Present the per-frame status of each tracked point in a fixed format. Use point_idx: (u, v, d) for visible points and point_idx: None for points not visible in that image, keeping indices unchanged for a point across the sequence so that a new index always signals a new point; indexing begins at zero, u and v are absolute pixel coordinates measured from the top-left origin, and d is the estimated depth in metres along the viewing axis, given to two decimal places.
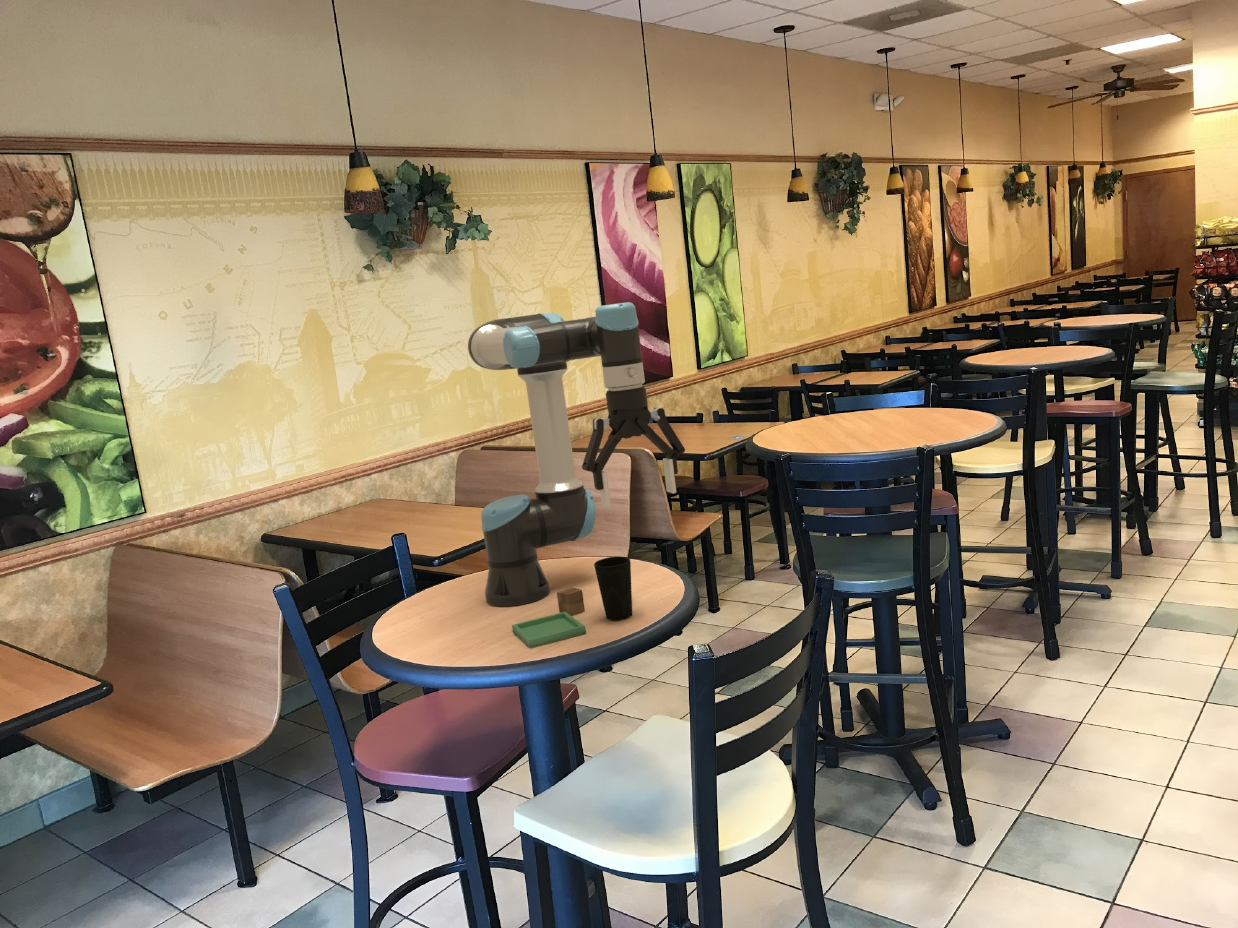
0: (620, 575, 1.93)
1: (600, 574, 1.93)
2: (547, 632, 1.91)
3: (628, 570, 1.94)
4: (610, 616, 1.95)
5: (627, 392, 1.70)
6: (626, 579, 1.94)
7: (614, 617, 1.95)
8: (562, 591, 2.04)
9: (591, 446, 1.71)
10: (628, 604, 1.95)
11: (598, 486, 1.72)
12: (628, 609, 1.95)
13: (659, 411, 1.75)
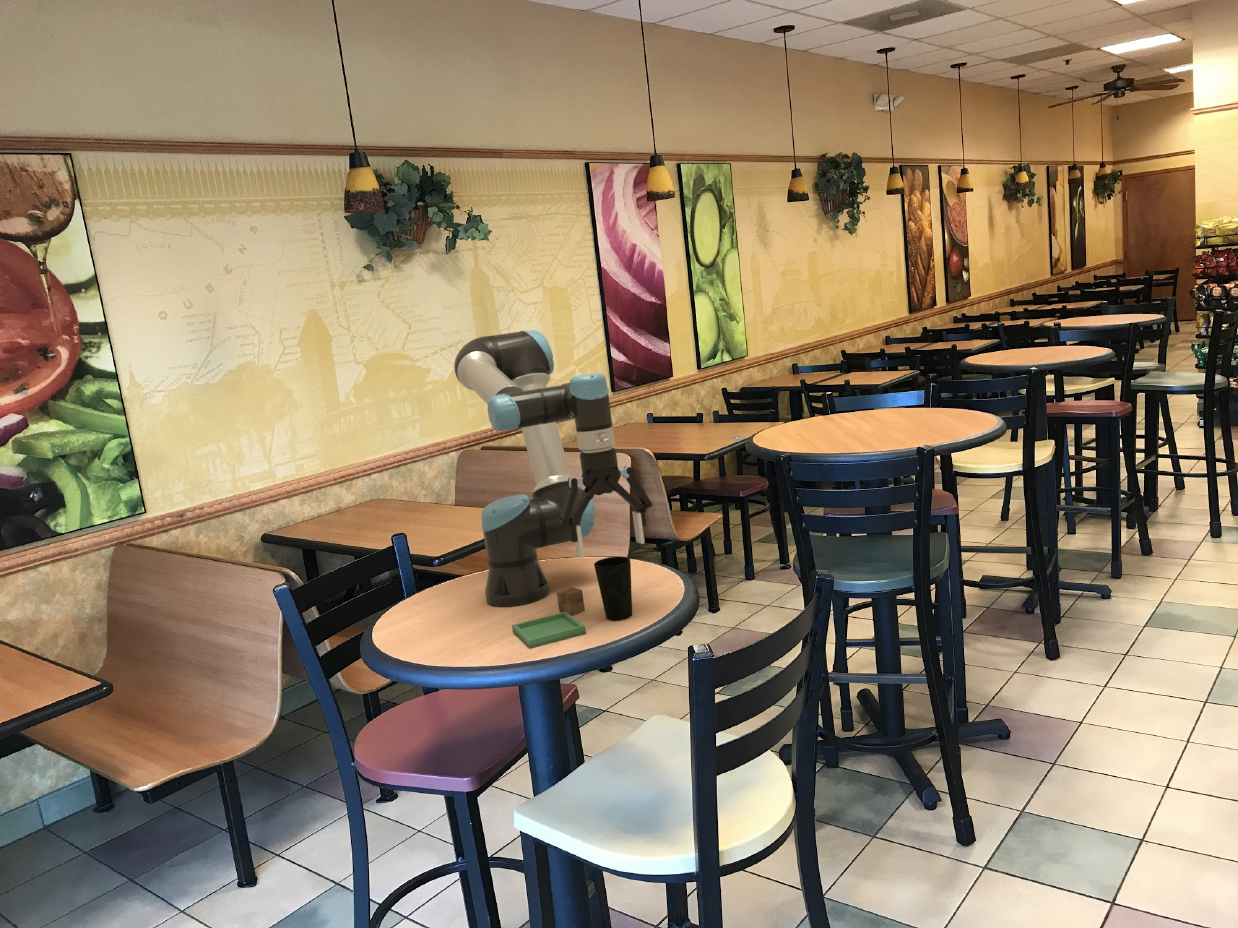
0: (620, 575, 1.93)
1: (600, 574, 1.93)
2: (547, 632, 1.91)
3: (628, 570, 1.94)
4: (610, 616, 1.95)
5: (598, 454, 1.88)
6: (626, 579, 1.94)
7: (614, 617, 1.95)
8: (562, 591, 2.04)
9: (566, 503, 1.90)
10: (628, 604, 1.95)
11: (573, 539, 1.91)
12: (628, 609, 1.95)
13: (628, 470, 1.94)
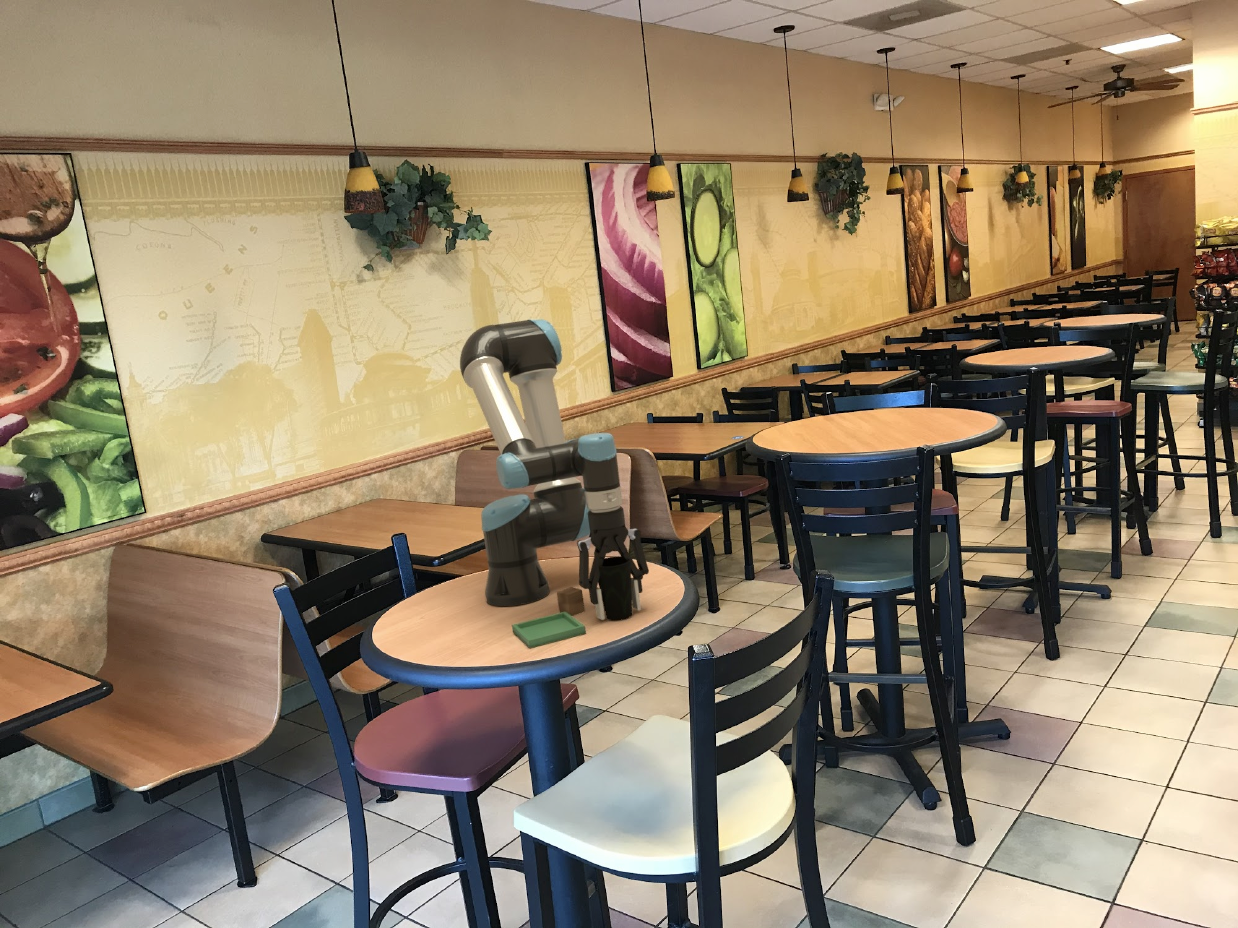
0: (620, 575, 1.93)
1: (600, 574, 1.93)
2: (547, 632, 1.91)
3: (628, 570, 1.94)
4: (610, 616, 1.95)
5: (606, 514, 1.90)
6: (626, 579, 1.94)
7: (614, 617, 1.95)
8: (562, 591, 2.04)
9: (581, 567, 1.93)
10: (628, 604, 1.95)
11: (593, 601, 1.94)
12: (628, 609, 1.95)
13: (636, 532, 1.96)
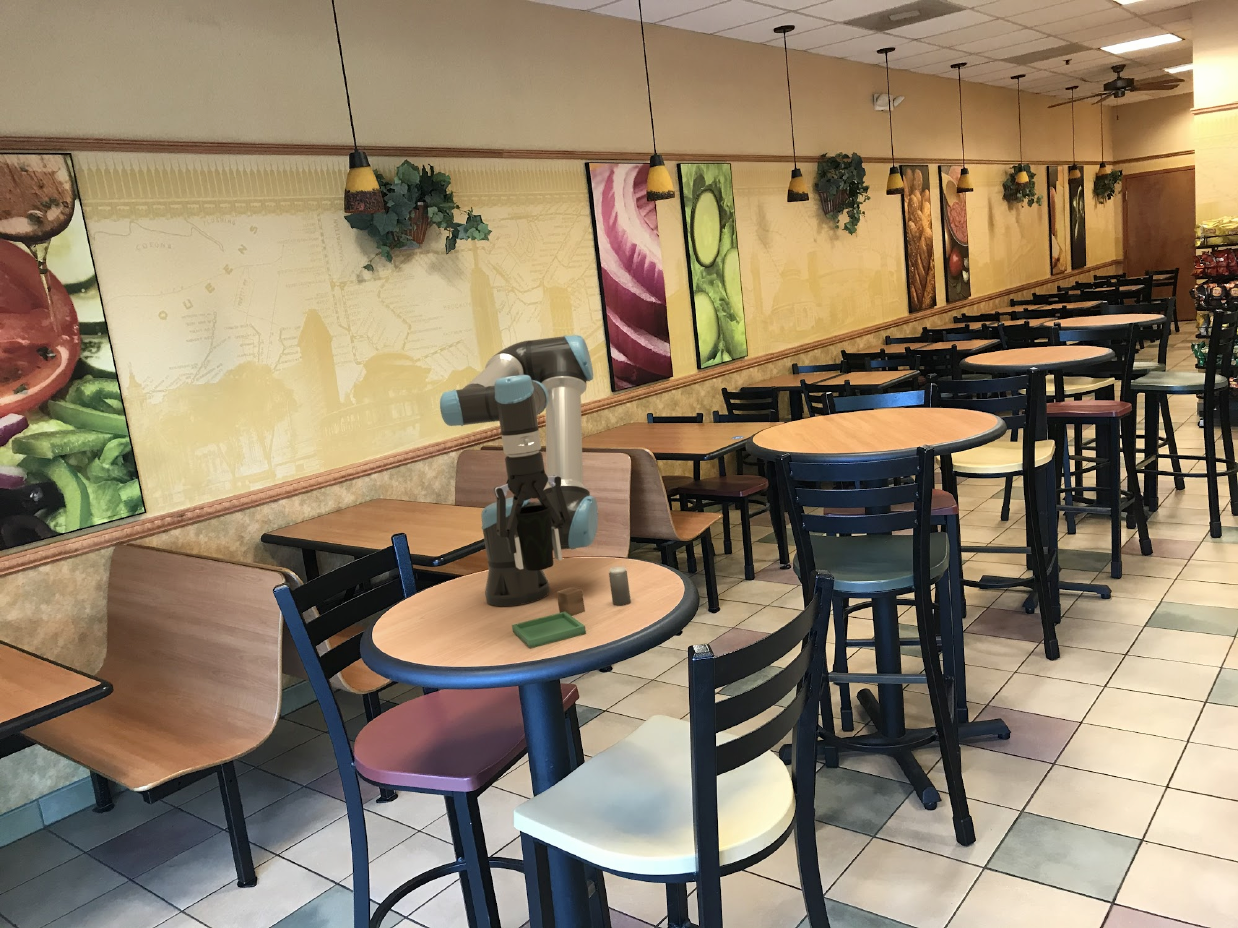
0: (539, 522, 1.86)
1: (518, 522, 1.86)
2: (547, 632, 1.91)
3: (547, 518, 1.87)
4: (529, 566, 1.88)
5: (523, 459, 1.83)
6: (545, 527, 1.87)
7: (533, 567, 1.88)
8: (562, 591, 2.04)
9: (498, 514, 1.86)
10: (548, 553, 1.88)
11: (511, 550, 1.87)
12: (548, 558, 1.88)
13: (556, 479, 1.89)
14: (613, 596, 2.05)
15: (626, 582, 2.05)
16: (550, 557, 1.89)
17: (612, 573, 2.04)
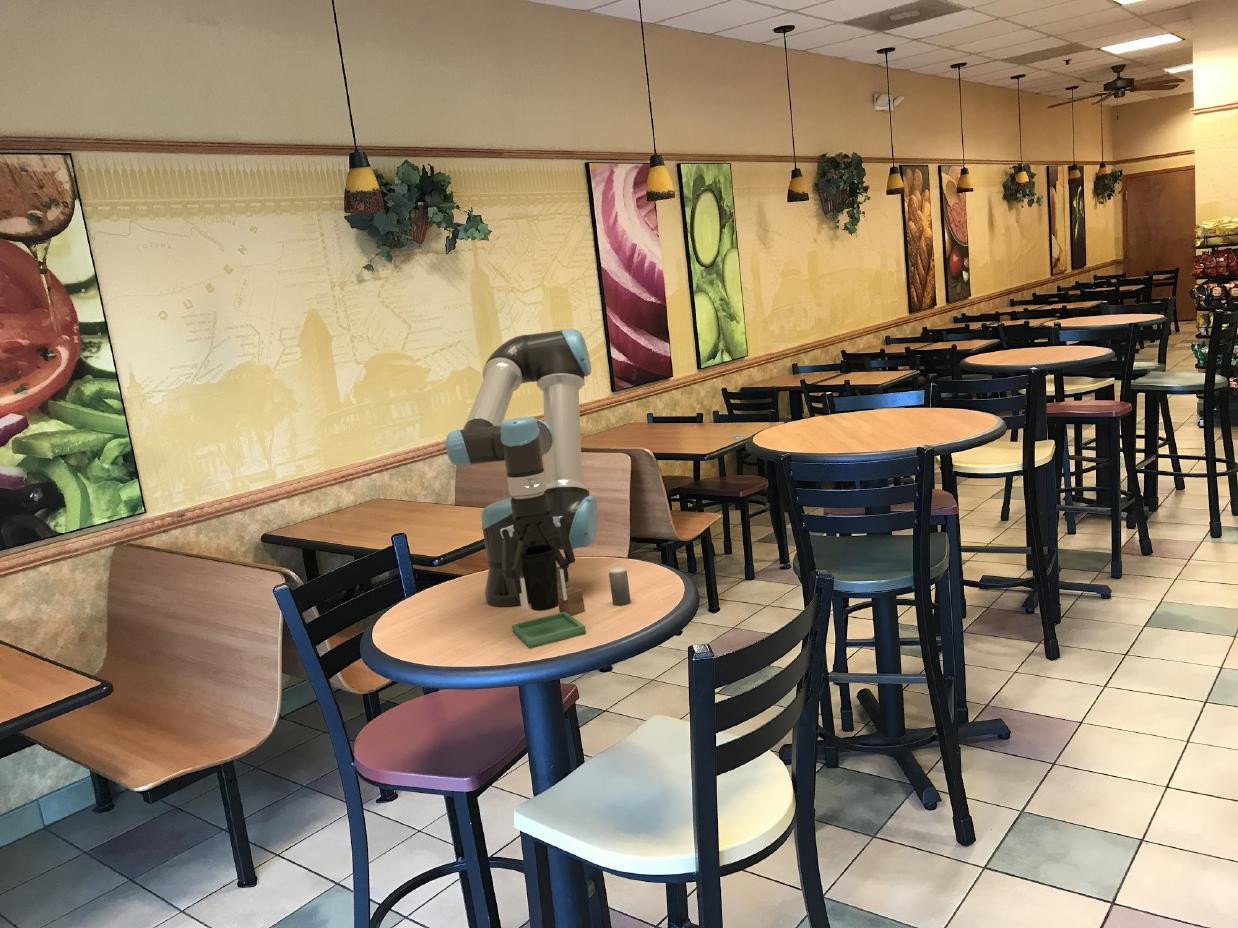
0: (544, 563, 1.87)
1: (524, 563, 1.88)
2: (547, 632, 1.91)
3: (553, 558, 1.88)
4: (534, 606, 1.89)
5: (528, 501, 1.85)
6: (550, 568, 1.88)
7: (538, 607, 1.89)
8: None
9: (504, 555, 1.87)
10: (553, 594, 1.89)
11: (517, 590, 1.88)
12: (553, 599, 1.89)
13: (561, 519, 1.90)
14: (613, 596, 2.05)
15: (626, 582, 2.05)
16: (555, 597, 1.90)
17: (612, 573, 2.04)
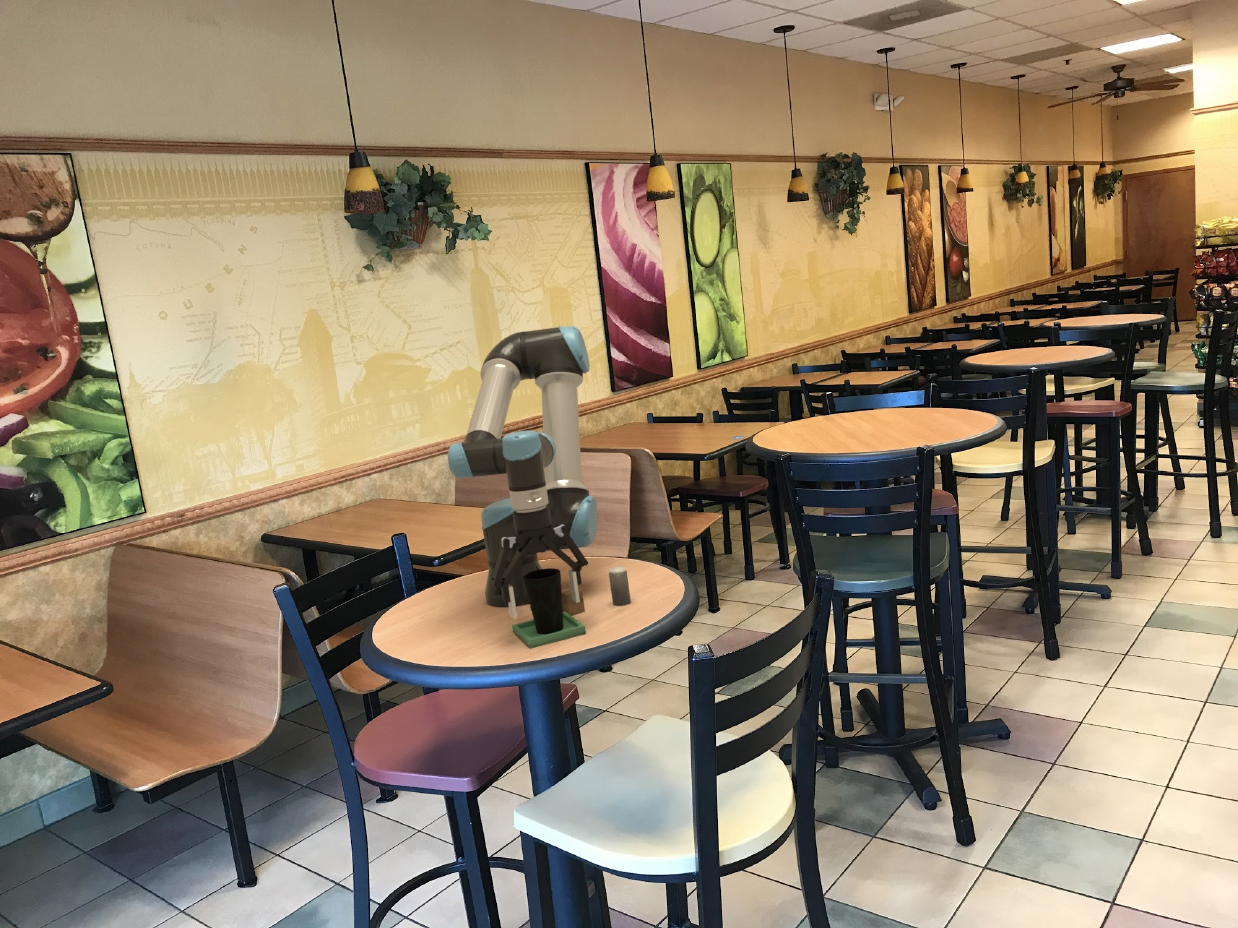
0: (549, 587, 1.88)
1: (529, 587, 1.89)
2: None
3: (557, 582, 1.89)
4: (540, 630, 1.91)
5: (530, 514, 1.85)
6: (555, 592, 1.89)
7: (544, 631, 1.90)
8: (562, 591, 2.04)
9: (498, 563, 1.87)
10: (558, 617, 1.90)
11: (505, 599, 1.88)
12: (558, 622, 1.91)
13: (563, 528, 1.90)
14: (613, 596, 2.05)
15: (626, 582, 2.05)
16: (560, 621, 1.91)
17: (612, 573, 2.04)
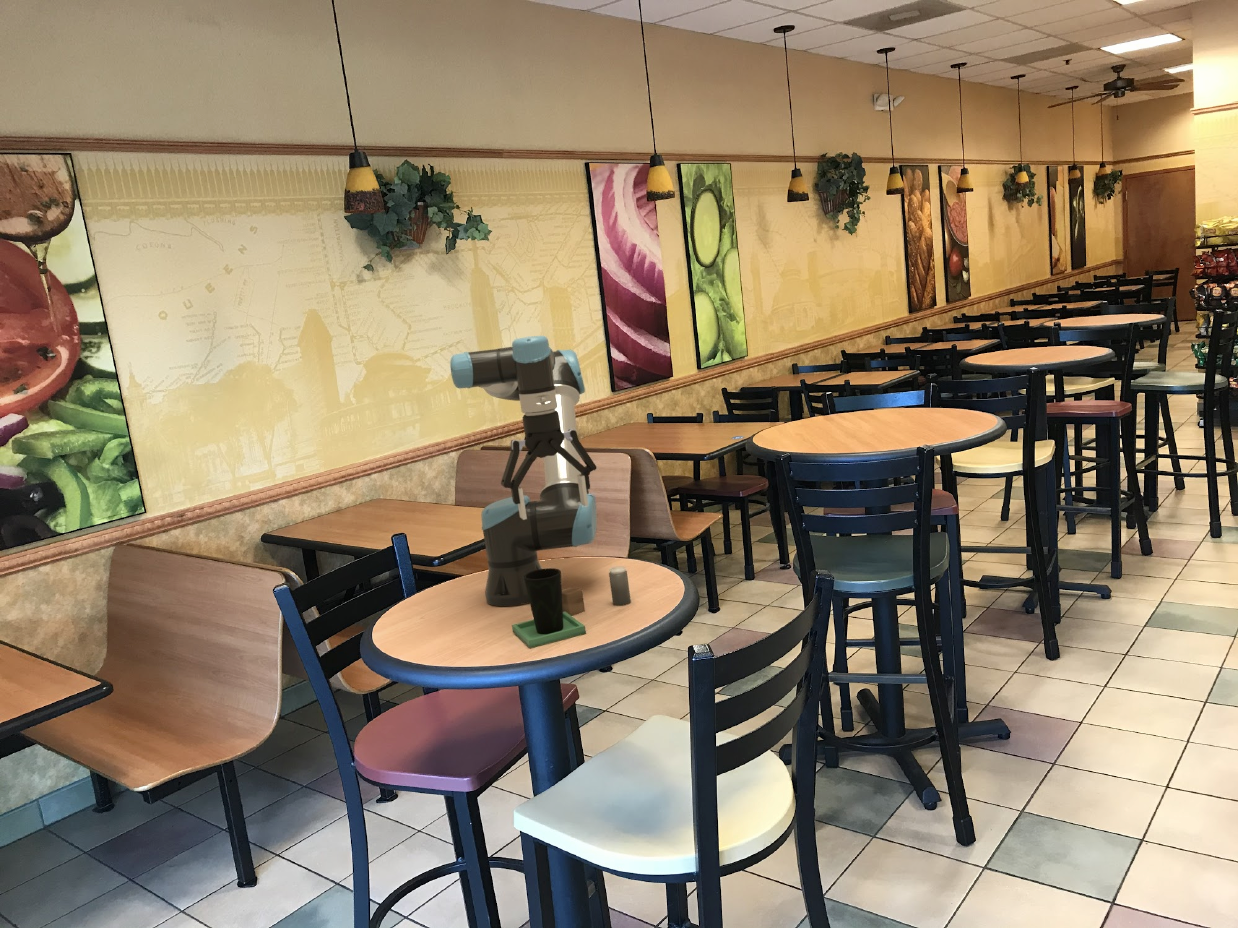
0: (550, 587, 1.88)
1: (529, 587, 1.89)
2: None
3: (558, 583, 1.89)
4: (540, 630, 1.91)
5: (539, 417, 1.89)
6: (556, 592, 1.89)
7: (544, 631, 1.90)
8: (562, 591, 2.04)
9: (508, 465, 1.91)
10: (558, 617, 1.90)
11: (515, 501, 1.92)
12: (558, 622, 1.91)
13: (571, 433, 1.94)
14: (613, 596, 2.05)
15: (626, 582, 2.05)
16: (560, 621, 1.91)
17: (612, 573, 2.04)
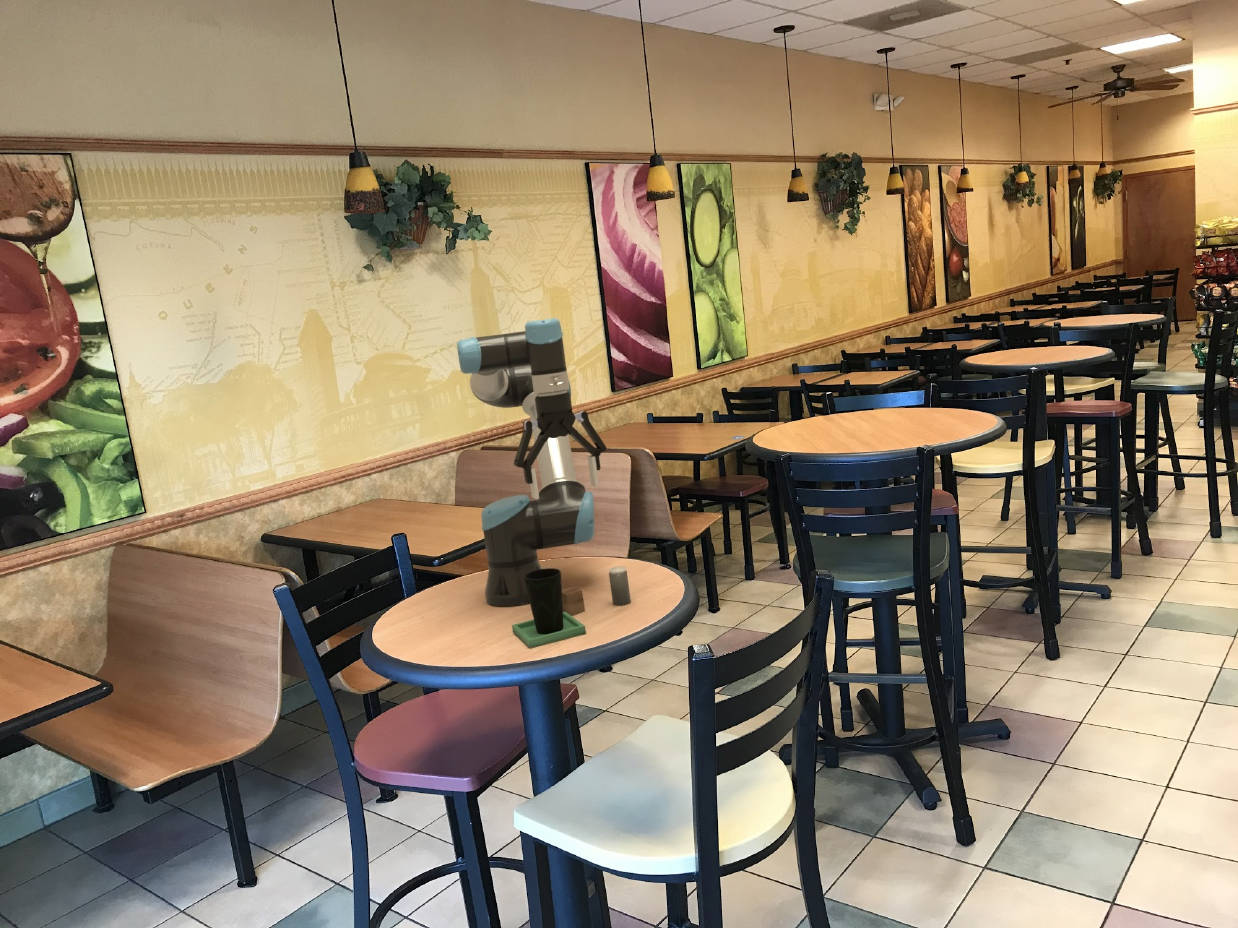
0: (550, 587, 1.88)
1: (529, 587, 1.89)
2: None
3: (558, 582, 1.89)
4: (540, 629, 1.91)
5: (552, 397, 1.93)
6: (556, 592, 1.89)
7: (544, 631, 1.90)
8: (562, 591, 2.04)
9: (521, 445, 1.94)
10: (558, 617, 1.90)
11: (528, 480, 1.95)
12: (558, 622, 1.91)
13: (583, 414, 1.98)
14: (613, 596, 2.05)
15: (626, 582, 2.05)
16: (560, 621, 1.91)
17: (612, 573, 2.04)
